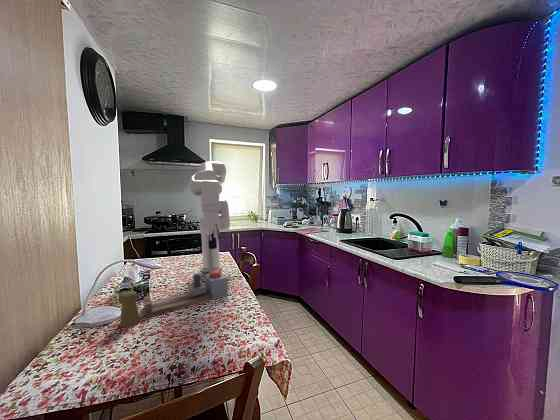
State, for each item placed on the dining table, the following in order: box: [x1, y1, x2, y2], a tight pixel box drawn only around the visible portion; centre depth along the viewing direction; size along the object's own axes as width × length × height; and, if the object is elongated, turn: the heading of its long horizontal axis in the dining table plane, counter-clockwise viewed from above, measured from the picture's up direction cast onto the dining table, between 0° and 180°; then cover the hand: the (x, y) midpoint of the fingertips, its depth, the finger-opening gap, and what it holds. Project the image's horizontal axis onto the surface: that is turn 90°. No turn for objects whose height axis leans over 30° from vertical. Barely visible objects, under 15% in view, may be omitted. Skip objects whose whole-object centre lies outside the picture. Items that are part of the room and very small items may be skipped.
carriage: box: [187, 273, 207, 297], centre depth 100 cm, size 7×6×8 cm
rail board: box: [143, 291, 212, 318], centre depth 96 cm, size 10×24×4 cm, turn 124°
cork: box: [119, 290, 141, 328], centre depth 82 cm, size 6×6×11 cm
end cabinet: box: [204, 272, 229, 300], centre depth 105 cm, size 10×7×8 cm
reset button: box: [209, 269, 222, 278], centre depth 105 cm, size 5×5×4 cm
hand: (212, 248), depth 106 cm, fingers closed
